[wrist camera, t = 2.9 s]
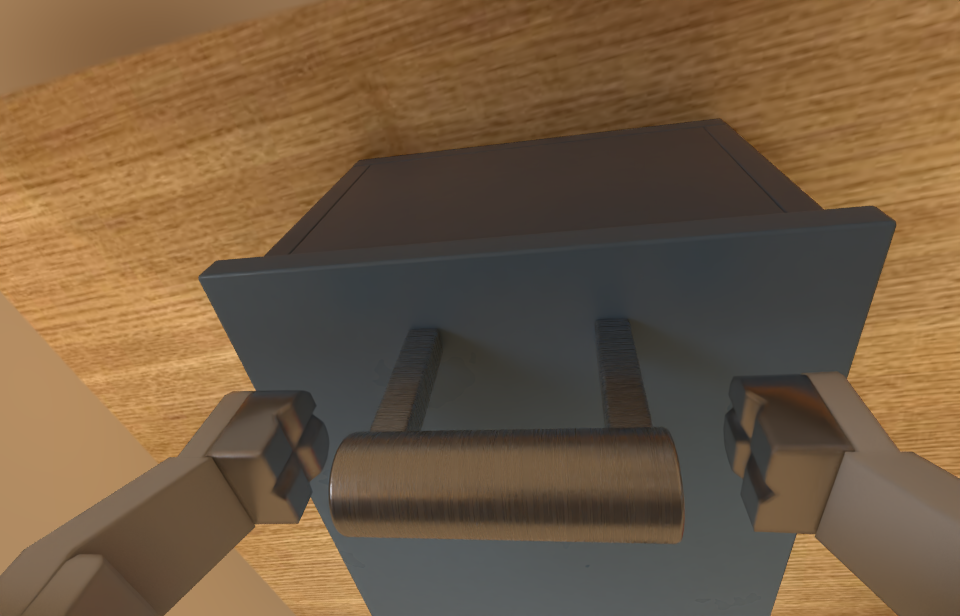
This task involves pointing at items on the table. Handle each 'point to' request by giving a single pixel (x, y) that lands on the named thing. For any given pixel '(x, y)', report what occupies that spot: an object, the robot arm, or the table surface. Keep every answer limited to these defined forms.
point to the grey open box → (547, 189)
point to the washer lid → (552, 403)
